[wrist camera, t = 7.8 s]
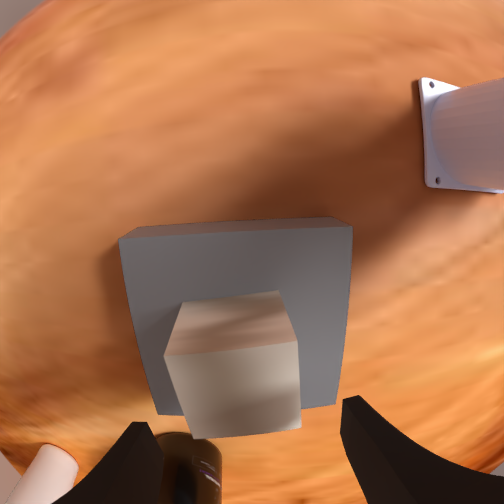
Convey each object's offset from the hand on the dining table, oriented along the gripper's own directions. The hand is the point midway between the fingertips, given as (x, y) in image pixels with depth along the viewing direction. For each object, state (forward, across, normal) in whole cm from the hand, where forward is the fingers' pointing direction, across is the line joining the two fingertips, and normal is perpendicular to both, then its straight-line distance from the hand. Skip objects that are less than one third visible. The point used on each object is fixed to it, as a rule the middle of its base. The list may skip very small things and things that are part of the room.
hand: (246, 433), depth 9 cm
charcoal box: (+11, 0, 0) cm, 11 cm away
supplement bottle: (+11, +7, +14) cm, 19 cm away
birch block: (+7, 0, 0) cm, 7 cm away
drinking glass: (+10, +25, +18) cm, 32 cm away
